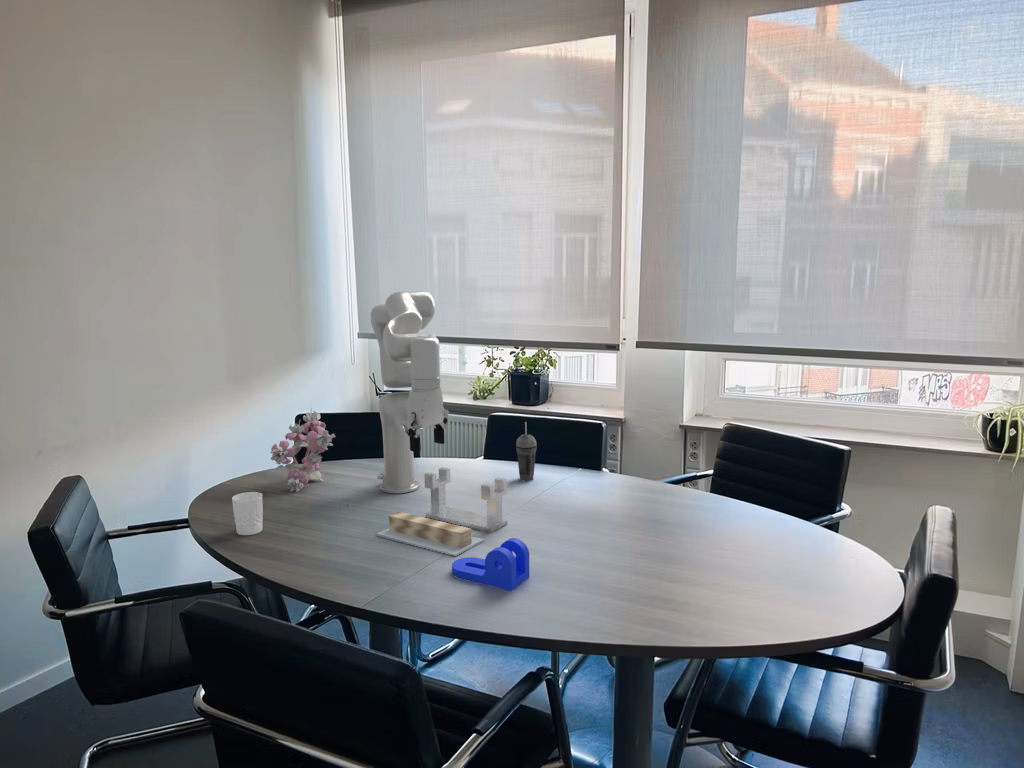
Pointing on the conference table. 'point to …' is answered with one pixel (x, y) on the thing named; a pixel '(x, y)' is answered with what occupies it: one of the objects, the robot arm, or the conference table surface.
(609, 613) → the conference table surface
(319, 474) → the flower
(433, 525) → the rail
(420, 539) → the mat
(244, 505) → the white cup
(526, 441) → the beverage cup
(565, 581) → the conference table surface
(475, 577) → the bracket
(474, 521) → the rail stand
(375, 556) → the conference table surface
